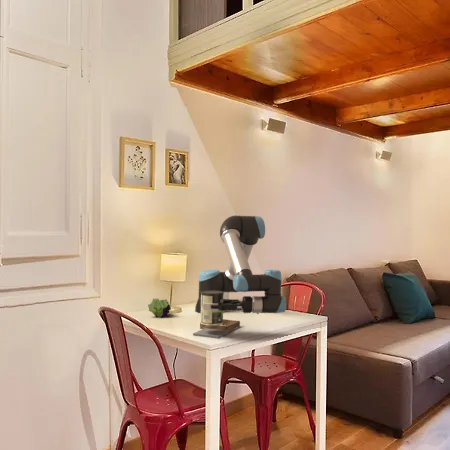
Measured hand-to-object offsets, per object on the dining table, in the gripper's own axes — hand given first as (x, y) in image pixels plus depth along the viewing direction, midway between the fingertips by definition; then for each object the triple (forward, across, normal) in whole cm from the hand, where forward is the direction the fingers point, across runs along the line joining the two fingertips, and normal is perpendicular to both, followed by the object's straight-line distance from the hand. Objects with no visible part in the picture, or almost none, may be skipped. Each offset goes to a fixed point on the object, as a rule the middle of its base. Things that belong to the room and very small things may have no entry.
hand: (202, 304), depth 201 cm
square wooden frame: (-9, +13, -13) cm, 21 cm away
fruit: (+20, +40, -13) cm, 47 cm away
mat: (-4, 0, -13) cm, 14 cm away
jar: (-17, +83, -13) cm, 86 cm away
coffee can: (-4, 0, -9) cm, 10 cm away
